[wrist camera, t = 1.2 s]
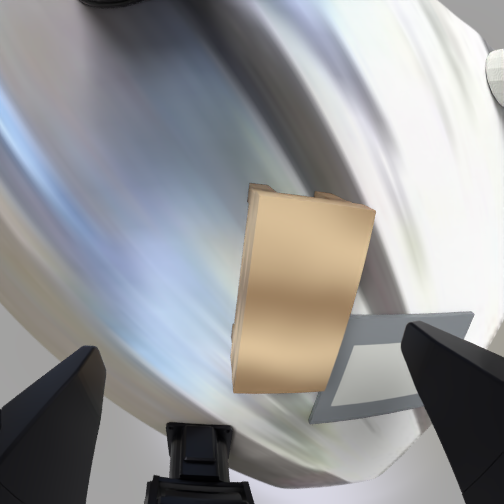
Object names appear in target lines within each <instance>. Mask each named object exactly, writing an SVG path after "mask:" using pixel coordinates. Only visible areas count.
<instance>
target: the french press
mask: <svg viewBox="0 0 504 504" xmlns="http://www.w3.org/2000/svg"><path fill="white" fill-rule="evenodd" d="M80 1H81V2H82V3H84V4H87V5H89V6H92V7H98V8H118V7H124V6H129V5H132V4H136V3H139V2H142V1H144V0H80Z"/></svg>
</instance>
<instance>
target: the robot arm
mask: <svg viewBox="0 0 504 504" xmlns="http://www.w3.org/2000/svg"><path fill="white" fill-rule="evenodd" d="M401 352H402V354H403V357H404V359H405V362H406V364H407V367H408V370H409V372H410V375H411V378H412V380H413V383H414V385H415V388H416V390H417V392H418V395H419V397H420V399H421V401H422V403H423V405H424V407H425V409H426V411H427V413H428V415H429V418H430V420H431V422H432V424H433V426H434V428H435V430H436V432H437V435H438V437H439V439H440V441H441V444H442V446H443V448H444V451H445V453H446V455H447V458H448V460H449V462H450V465H451V467H452V470H453V472H454V474H455V477H456V479H457V482H458V484H459V487H460V489H461V492H462V495H463V498H464V500H465V503H466V504H504V357H502V356H499V355H497V354H495V353H493V352H491V351H488V350H486V349H484V348H482V347H479V346H477V345H475V344H473V343H470V342H468V341H466V340H464V339H461V338H459V337H457V336H455V335H452V334H450V333H448V332H445V331H443V330H441V329H439V328H436V327H434V326H432V325H430V324H427V323H425V322H423V321H420V320H417V321H412V322H409V323H407V325H406V327H405V331H404V334H403V338H402V341H401ZM105 380H106V368H105V365H104V363H103V360H102V357H101V355H100V352H99V350H98V348H97V347H96V346H82V347H81V348H79V349H78V350H77V351H75V352H74V353H73V354H71V355H70V356H69V357H67V358H66V359H65V360H63V361H62V362H61V363H59V364H58V365H57V366H55V367H54V368H53V369H51V370H50V371H49V372H47V373H46V374H45V375H44V376H42V377H41V378H40V379H38V380H37V381H36V382H34V383H33V384H32V385H30V386H29V387H28V388H26V389H25V390H24V391H23V392H21V393H20V394H19V395H17V396H16V397H15V398H13V399H12V400H11V401H10V402H8V403H7V404H6V405H4V406H3V407H2V410H1V409H0V504H86V497H87V490H88V484H89V477H90V472H91V465H92V460H93V455H94V449H95V444H96V440H97V435H98V430H99V425H100V420H101V413H102V403H103V395H104V387H105ZM166 432H167V441H168V449H169V456H170V474H169V478H166V477H159V476H157V475H154V476H153V480H152V481H150V482H147V489H146V497H145V501H144V504H254V501H253V497H252V494H251V490H250V487H249V483H248V482H230V480H229V469H228V458H229V452H230V445H231V438H232V432H233V431H232V427H231V426H228V425H201V424H185V423H173V422H169V423H167V424H166Z"/></svg>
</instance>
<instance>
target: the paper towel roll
mask: <svg viewBox="0 0 504 504" xmlns="http://www.w3.org/2000/svg"><path fill="white" fill-rule="evenodd" d="M486 73H487V79H488V83H489V85H490V88H491V91H492V93H493V95H494V96H495V98H496V100H497V101H498V103H500V104H501V105H502V106H503V107H504V49H500V50H495V51H493V52H490V53H489V55H488V57H487V59H486Z"/></svg>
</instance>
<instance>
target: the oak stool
mask: <svg viewBox="0 0 504 504" xmlns="http://www.w3.org/2000/svg"><path fill="white" fill-rule="evenodd" d="M247 202H248V204H249V206H248V214H247V222H246V230H245V238H244V247H243V255H242V263H241V271H240V280H239V288H238V296H237V305H236V313H235V322H234V324H233V326H232V335H231V339H232V348H231V367H232V382H233V392H234V393H251V394H264V393H302V392H320V391H325V389H326V386H327V383H328V380H329V378H330V375H331V372H332V369H333V366H334V364H335V361H336V358H337V355H338V352H339V349H340V346H341V343H342V340H343V336H344V333H345V330H346V327H347V324H348V320H349V317H350V314H351V310H352V307H353V303H354V300H355V296H356V293H357V289H358V285H359V282H360V278H361V274H362V270H363V266H364V262H365V258H366V254H367V250H368V246H369V242H370V237H371V233H372V228H373V224H374V219H375V214H376V211H375V210H373V209H371V208H369V207H367V206H365V205H362V204H355V203H351V202H349V201H345V200H343V199H341V198H339V197H337V196H335V195H333V194H331V193H324V192H317V191H315V194H314V197H307V196H299V195H291V194H283V193H277V192H276V191H274V190H273V189H272V188H271V187H270V186H268V185H263V184H254V183H249V191H248V199H247Z"/></svg>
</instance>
